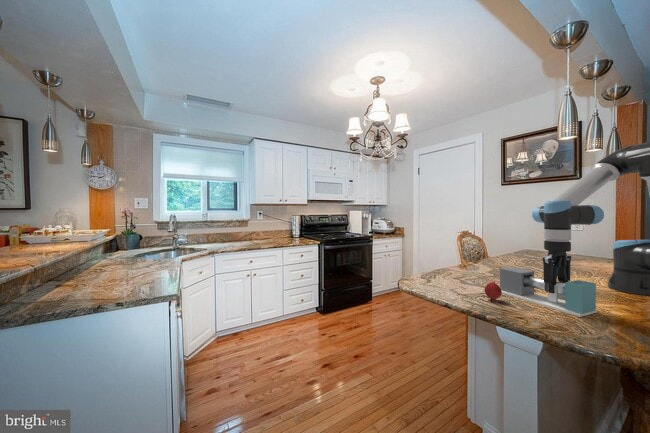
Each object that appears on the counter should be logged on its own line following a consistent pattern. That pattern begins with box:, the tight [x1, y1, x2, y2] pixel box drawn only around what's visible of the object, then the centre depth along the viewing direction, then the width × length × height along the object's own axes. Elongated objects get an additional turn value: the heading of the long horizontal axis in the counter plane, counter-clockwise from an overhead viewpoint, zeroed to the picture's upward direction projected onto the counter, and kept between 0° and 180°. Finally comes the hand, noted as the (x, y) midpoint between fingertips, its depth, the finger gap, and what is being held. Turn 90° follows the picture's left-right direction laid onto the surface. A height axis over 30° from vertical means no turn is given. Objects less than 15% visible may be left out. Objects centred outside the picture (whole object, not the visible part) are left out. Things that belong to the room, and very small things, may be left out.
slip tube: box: [524, 275, 565, 296], centre depth 97 cm, size 19×6×6 cm, turn 20°
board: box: [501, 290, 599, 318], centre depth 98 cm, size 11×28×1 cm, turn 20°
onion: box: [484, 280, 502, 301], centre depth 100 cm, size 6×6×8 cm
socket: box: [564, 279, 597, 314], centre depth 87 cm, size 9×4×10 cm, turn 110°
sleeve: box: [499, 266, 535, 296], centre depth 107 cm, size 8×9×10 cm
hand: (557, 300), depth 93 cm, fingers closed on slip tube, 5 cm apart
